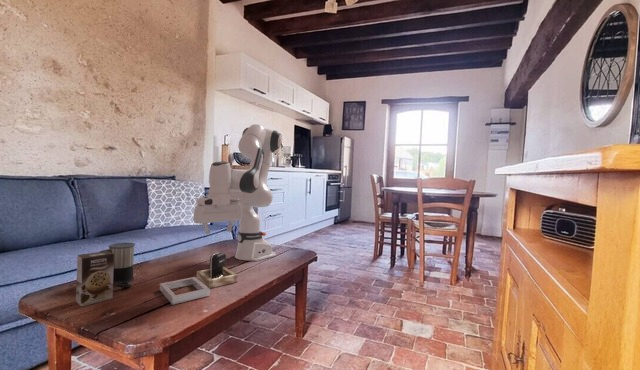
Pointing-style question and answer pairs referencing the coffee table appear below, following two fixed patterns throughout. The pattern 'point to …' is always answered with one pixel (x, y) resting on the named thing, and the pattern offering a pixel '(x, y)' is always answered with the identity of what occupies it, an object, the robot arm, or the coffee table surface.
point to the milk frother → (122, 263)
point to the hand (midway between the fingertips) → (218, 232)
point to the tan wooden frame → (210, 283)
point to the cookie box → (94, 277)
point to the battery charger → (217, 265)
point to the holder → (175, 299)
